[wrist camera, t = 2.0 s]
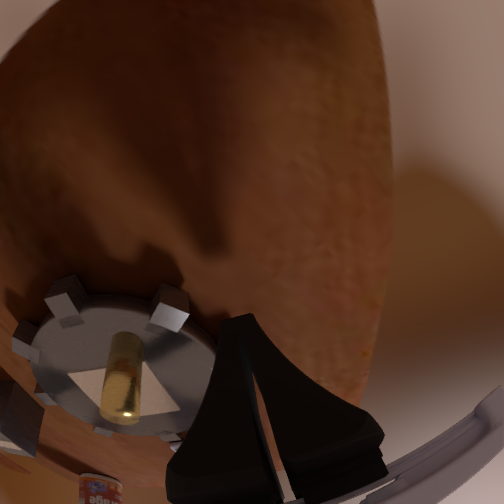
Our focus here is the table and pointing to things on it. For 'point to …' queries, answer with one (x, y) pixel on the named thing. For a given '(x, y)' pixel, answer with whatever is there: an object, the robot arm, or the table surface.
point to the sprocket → (119, 359)
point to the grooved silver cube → (19, 420)
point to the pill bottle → (99, 489)
